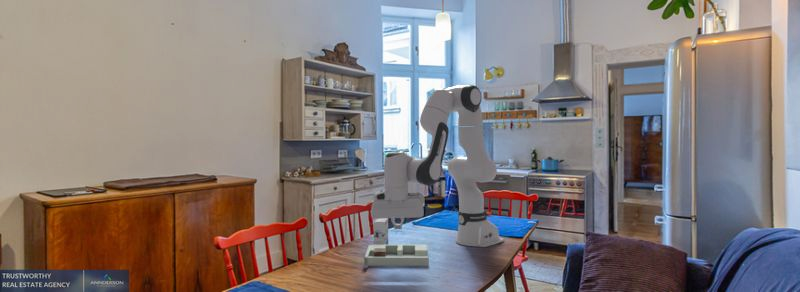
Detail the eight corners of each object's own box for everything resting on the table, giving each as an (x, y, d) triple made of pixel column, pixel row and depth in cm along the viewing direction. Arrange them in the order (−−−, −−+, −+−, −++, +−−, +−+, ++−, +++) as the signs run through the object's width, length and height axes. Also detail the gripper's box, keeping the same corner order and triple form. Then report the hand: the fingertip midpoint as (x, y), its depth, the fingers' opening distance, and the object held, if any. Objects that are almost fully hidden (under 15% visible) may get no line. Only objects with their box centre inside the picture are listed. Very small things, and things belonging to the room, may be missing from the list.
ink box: (378, 242, 178) (378, 217, 177) (389, 243, 177) (388, 217, 176) (373, 248, 169) (373, 221, 169) (384, 248, 168) (384, 221, 168)
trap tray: (427, 254, 160) (426, 244, 160) (428, 268, 144) (428, 257, 144) (369, 253, 161) (369, 244, 161) (364, 268, 145) (364, 257, 144)
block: (386, 259, 151) (385, 248, 151) (385, 263, 147) (385, 251, 146) (374, 259, 151) (374, 248, 151) (373, 263, 147) (373, 251, 146)
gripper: (423, 191, 151) (424, 225, 152) (371, 192, 152) (372, 227, 153) (424, 194, 145) (425, 230, 146) (369, 195, 145) (371, 232, 146)
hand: (398, 229), depth 149 cm, fingers closed
